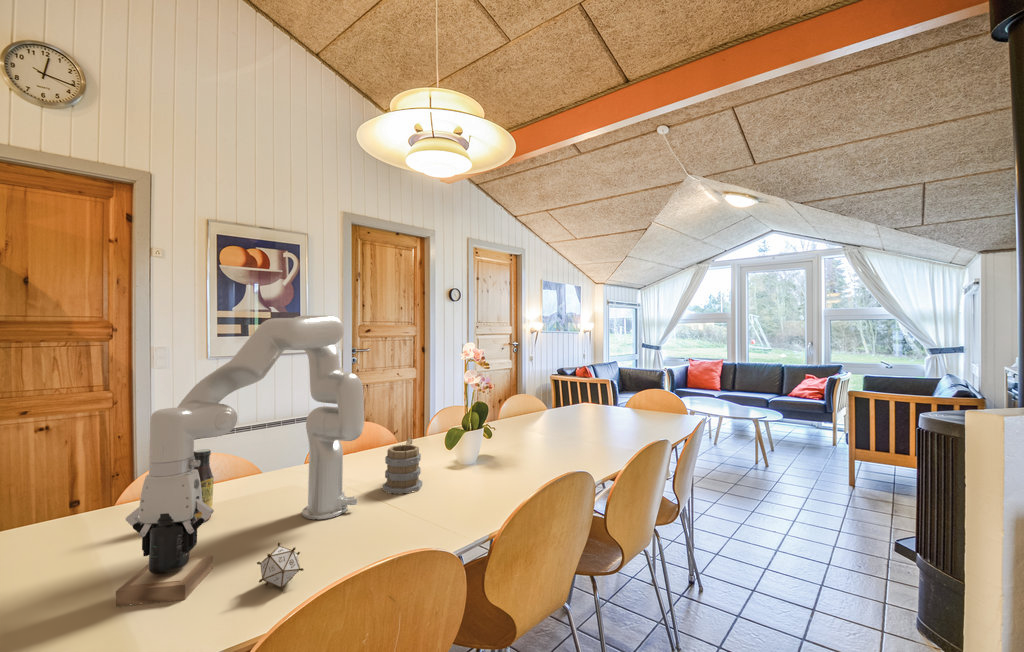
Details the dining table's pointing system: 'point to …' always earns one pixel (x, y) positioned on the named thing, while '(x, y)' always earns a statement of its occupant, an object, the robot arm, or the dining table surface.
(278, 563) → the game die
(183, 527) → the supplement bottle
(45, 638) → the dining table surface
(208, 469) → the sauce bottle
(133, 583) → the walnut base
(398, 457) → the tankard
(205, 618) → the dining table surface
